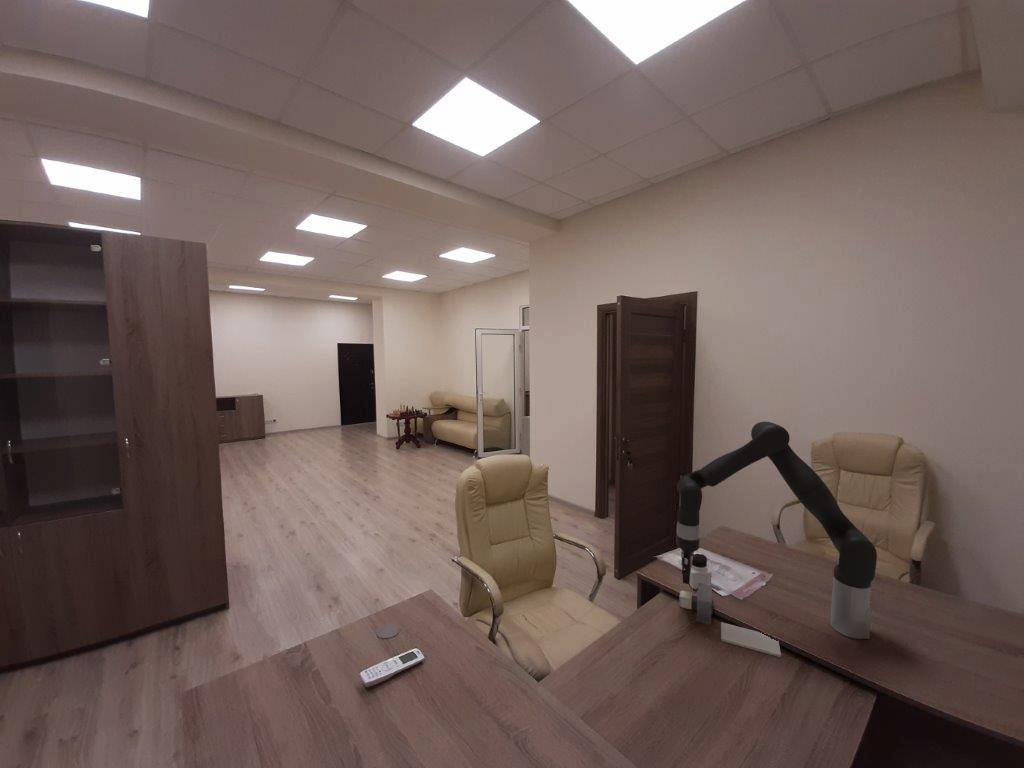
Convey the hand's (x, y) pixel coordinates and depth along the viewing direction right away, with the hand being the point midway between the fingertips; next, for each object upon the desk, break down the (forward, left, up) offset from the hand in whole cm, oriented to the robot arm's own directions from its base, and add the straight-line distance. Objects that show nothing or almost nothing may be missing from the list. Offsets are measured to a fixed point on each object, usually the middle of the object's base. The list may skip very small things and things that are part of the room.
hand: (686, 576), depth 143 cm
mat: (-19, +9, -11) cm, 24 cm away
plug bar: (-3, 0, -11) cm, 12 cm away
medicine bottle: (-3, -15, -11) cm, 19 cm away
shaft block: (-6, 0, -11) cm, 13 cm away
